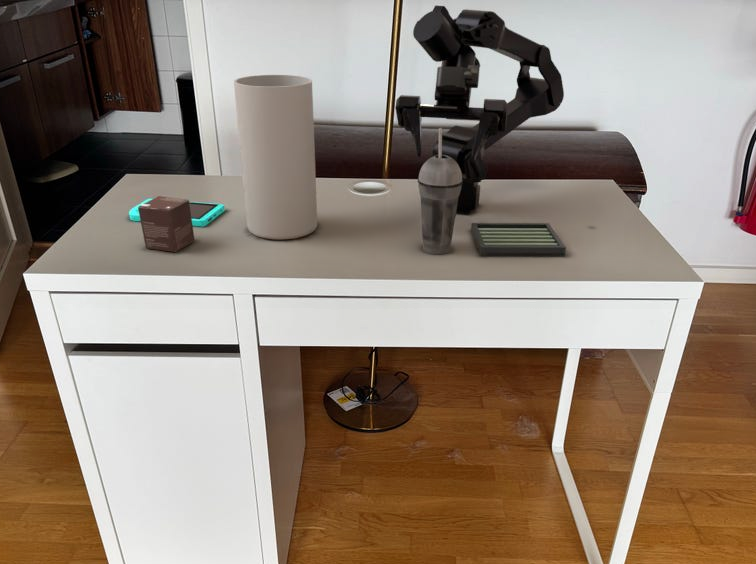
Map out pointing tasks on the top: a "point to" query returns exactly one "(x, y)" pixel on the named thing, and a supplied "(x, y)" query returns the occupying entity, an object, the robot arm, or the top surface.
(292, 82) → the cylinder vase
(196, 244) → the top surface
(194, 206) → the handheld game console
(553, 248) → the drying rack
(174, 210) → the box
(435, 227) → the beverage cup
